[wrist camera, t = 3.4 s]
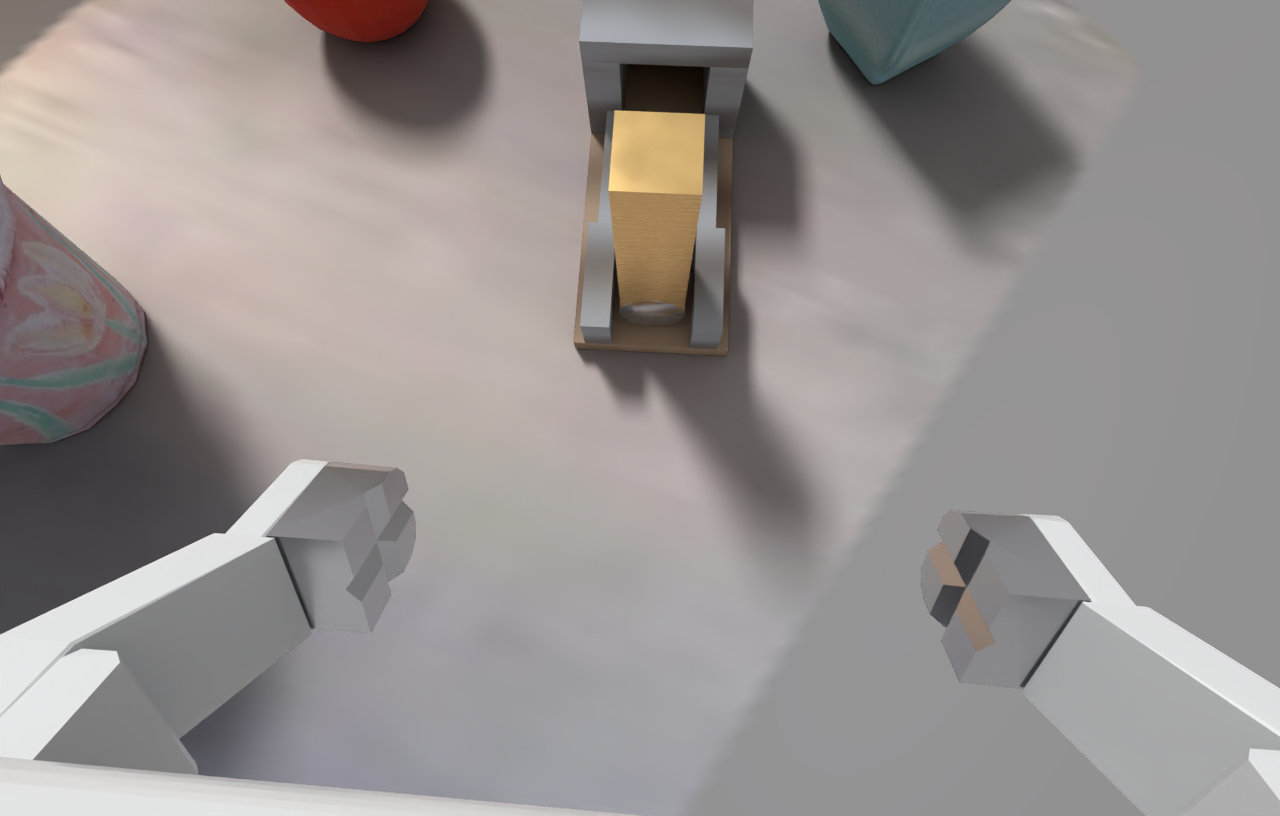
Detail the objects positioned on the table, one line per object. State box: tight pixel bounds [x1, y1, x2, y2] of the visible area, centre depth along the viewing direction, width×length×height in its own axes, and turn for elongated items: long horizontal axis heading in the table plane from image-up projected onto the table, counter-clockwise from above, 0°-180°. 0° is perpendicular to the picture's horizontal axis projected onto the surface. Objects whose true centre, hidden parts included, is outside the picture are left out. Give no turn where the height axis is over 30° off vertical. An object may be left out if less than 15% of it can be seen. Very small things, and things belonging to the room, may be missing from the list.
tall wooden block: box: [608, 110, 705, 326], centre depth 25 cm, size 10×3×12 cm, turn 177°
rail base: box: [574, 0, 753, 356], centre depth 30 cm, size 18×8×7 cm, turn 177°
